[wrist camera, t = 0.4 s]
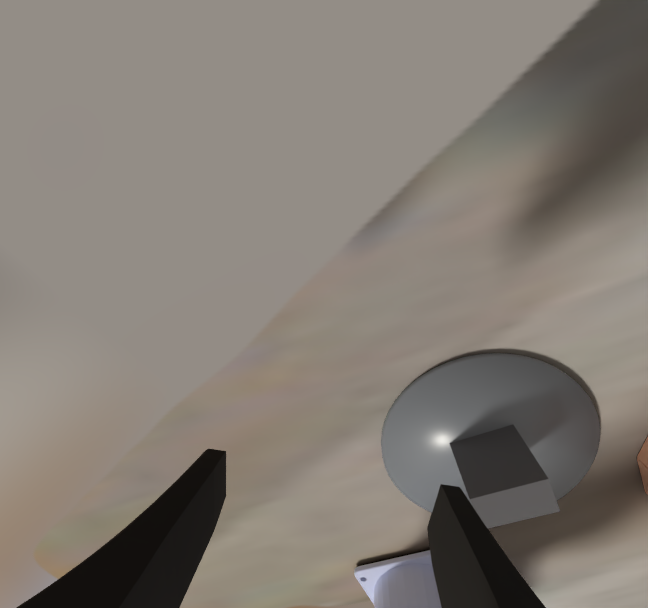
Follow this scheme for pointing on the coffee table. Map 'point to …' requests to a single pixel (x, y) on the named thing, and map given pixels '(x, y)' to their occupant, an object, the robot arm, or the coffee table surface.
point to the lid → (492, 436)
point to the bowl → (644, 464)
